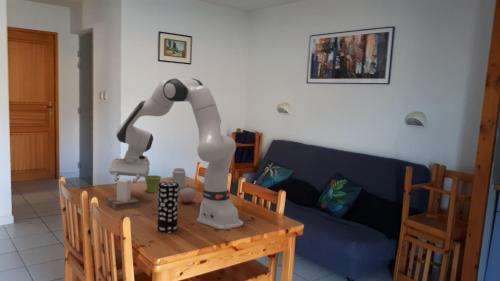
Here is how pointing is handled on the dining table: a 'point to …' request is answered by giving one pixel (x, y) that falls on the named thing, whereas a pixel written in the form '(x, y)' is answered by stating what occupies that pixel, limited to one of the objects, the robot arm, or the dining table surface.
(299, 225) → the dining table surface
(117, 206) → the base
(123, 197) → the block
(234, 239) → the dining table surface
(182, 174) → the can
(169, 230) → the spotted tube
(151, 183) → the plant pot
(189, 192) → the decorative fruit
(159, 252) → the dining table surface
